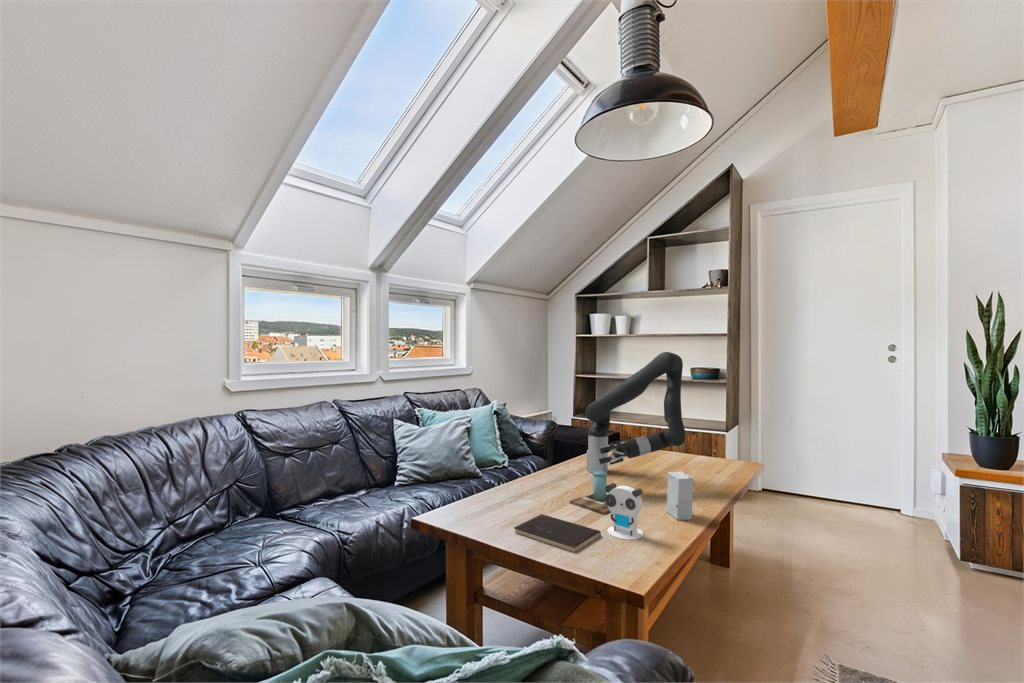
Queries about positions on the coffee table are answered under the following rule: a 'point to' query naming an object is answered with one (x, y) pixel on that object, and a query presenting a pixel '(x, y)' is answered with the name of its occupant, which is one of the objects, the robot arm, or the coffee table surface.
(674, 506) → the skincare box
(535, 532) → the hardcover book
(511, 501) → the coffee table surface
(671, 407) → the robot arm
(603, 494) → the teal domed canister
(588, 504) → the collar base
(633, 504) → the panda figurine
